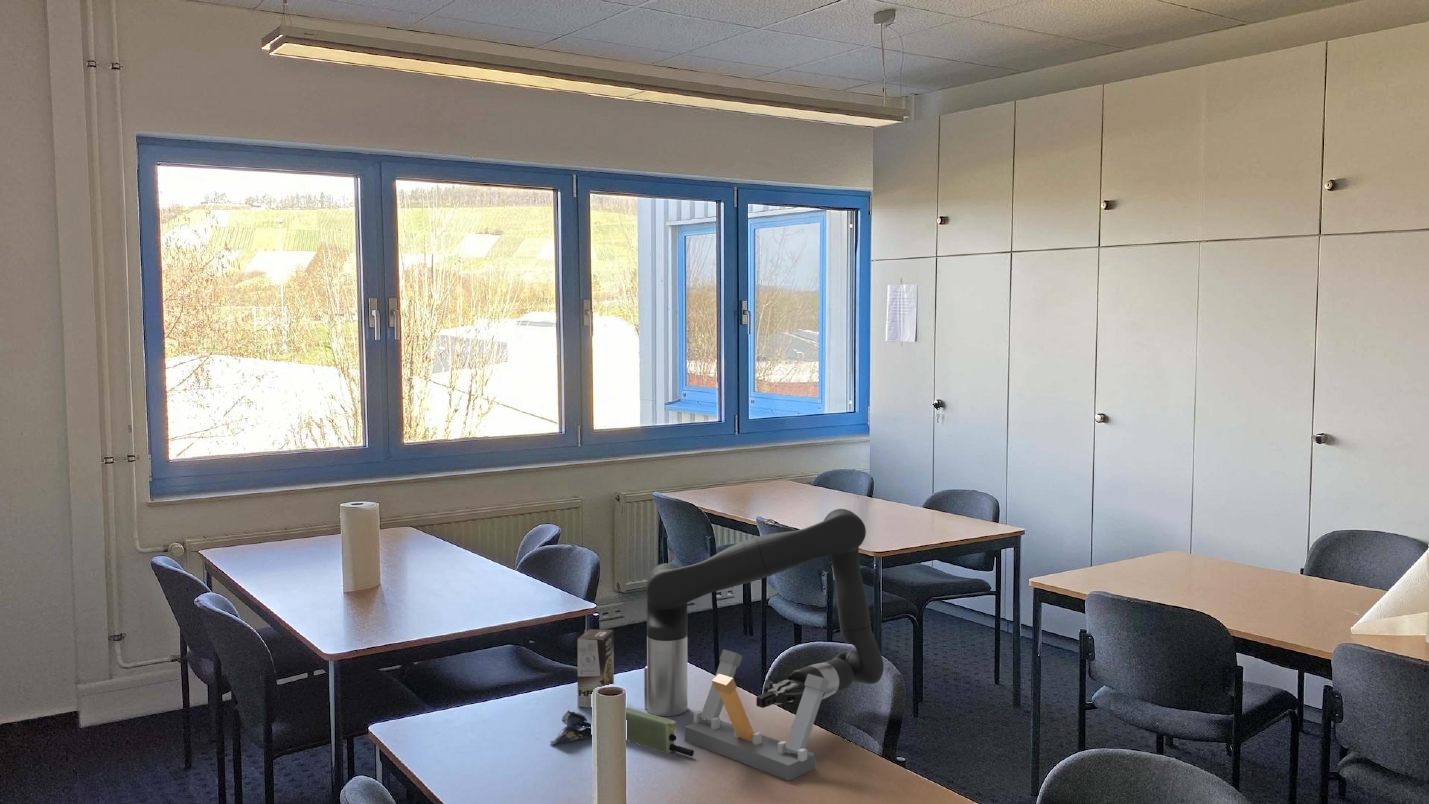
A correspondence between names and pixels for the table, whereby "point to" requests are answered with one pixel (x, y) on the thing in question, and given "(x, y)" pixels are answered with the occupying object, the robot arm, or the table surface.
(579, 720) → the snack package
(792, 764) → the pegged base beam
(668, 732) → the handheld radio
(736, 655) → the left paddle
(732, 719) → the orange paddle
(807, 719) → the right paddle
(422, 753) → the table surface
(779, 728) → the table surface
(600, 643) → the coffee box
